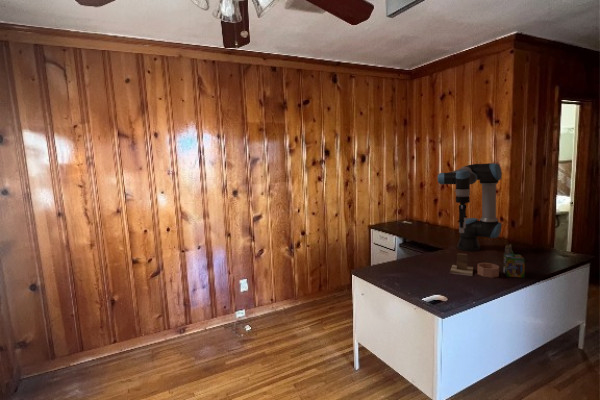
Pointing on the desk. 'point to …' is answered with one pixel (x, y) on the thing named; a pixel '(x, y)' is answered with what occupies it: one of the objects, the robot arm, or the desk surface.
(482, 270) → the bowl
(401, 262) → the desk surface
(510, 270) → the green labelled jug
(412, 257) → the desk surface
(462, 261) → the tan wooden stand
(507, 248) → the ruin model on sheet
